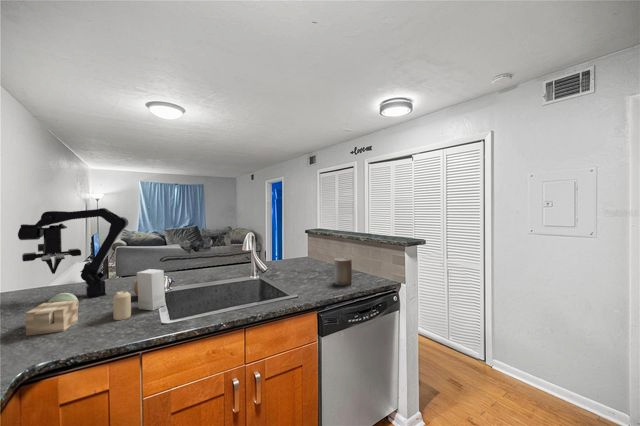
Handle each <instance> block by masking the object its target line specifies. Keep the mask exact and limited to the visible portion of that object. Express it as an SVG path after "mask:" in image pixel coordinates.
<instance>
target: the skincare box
mask: <svg viewBox="0 0 640 426" xmlns="http://www.w3.org/2000/svg"><path fill="white" fill-rule="evenodd" d="M164 275H165V273H164V269H155V268H154V269H153V268H148V269H145V270H141V271H137V272H136V281H137V287H138V295H137V300H138V301H137V302H138V309H140V310H145V311H155V310H158V309H160V308H159V307H161V306H163V307H164V305H165V306H166V294H165V292H166V291H165V276H164ZM161 308H162V307H161Z"/></svg>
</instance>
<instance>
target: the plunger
mask: <svg viewBox="0 0 640 426" xmlns="http://www.w3.org/2000/svg"><path fill="white" fill-rule="evenodd" d="M71 300H78V307H79V305H80V301H79V299H78V297H77V296H76V295H74V294H73V293H71V292H62V293H58V294H56V295H55V296H53V297H51V298H50V299H48V301H47V303H49V302H52V304H50V305H48V306H47V307H45V308H43V309H42V310H40V311H38V312H36V313H35V314H33V319H34V326H42V325H49V324H51V323H52V322H54V310H56V309H57V308H59V307H60V306H62V305H63V304H65V303H66V302H68V301H71Z"/></svg>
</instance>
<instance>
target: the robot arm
mask: <svg viewBox="0 0 640 426" xmlns="http://www.w3.org/2000/svg"><path fill="white" fill-rule="evenodd" d="M99 217H101V218H102V219H103V220H104V221H106V222H107V223H109V224H110V226H109V228H108V233H107V236H106V237H105V239H104V241H103V242H102V244H101V245H100V248H99V249H98V251H97V252H96V254H95V256H94V257H93V259H92V261H87V262H86V263H85V264H84V266H83V268H82V270H80V278H81V279H82V281H85V283H86V286H85V296H86V297H87V298H88V299H91V298H97V297H102V296H107V293H106V281H105V279H106V277H107V275H106V274H105V273H103V272H102V271H101V270H102V267H103V263H104V261H105V259H106V258H107V256H108V254H109V252H110V250H111V249H112V247H113V245H115V244H114V243H115V242H116V241H117V239H118V237H119V236H120V234H122V232H123V231H124V230H125V229H126V228H127V226H128V225H129V219H127V217H124V216H119V215H118V214H116V213H114V212H112V211H111V210H109V209H108V208H105V207H103V208H96V209H87V210H86V209H85V210H76V211H74V210H73V211H63V210H62V211H61V210H60V211H59V210H51V211H45V212H43V213H42V214H41V215H40V219H39V220H38V221H37V222H36V223H35V224H28V223H27V224H24V223H22V224H20V228H19V230H18V232H17V237H18V239H19V241H36V240H40V239H41V238H43V243H40V244H39V243H38V244H37V252H39V253H37V252H34V251H33V252H24V253H22V255H21V260H22V262H32V261H35V260H36V259H40V260H41V261H42V262H45V263H46V264H47V265H48V267H49V270H50V272H51V274H52V275H55V273H56V272H57V270H58V267H59V265H60V264H61V262H62V260H66V258H65V256H71V257H79V256H82V250H81V249H80V248H69V249H67V251H66V250H65V251H63V250H62V248H63V247H62V230H63V229H67V228H68V227H67V226H66V225H64V223H63V222H66V221H71V220H80V219H87V218H88V219H89V218H99ZM40 252H42V253H40ZM53 257H54V261H53V260H52V258H53Z"/></svg>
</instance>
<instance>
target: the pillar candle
mask: <svg viewBox="0 0 640 426" xmlns="http://www.w3.org/2000/svg"><path fill="white" fill-rule="evenodd" d="M352 262H353V261H352V258H350V257H344V256H342V257H335V258H334V263H333V264H334V265H333V266H334V267H333V268H334V270H333V271H334V273H333V275H334V281H333V282H334V284H335V285H336V286H342V287H343V286H351V285H352V283H353V282H352V275H353V274H352V271H353V269H352V268H353V267H352V265H353V264H352Z"/></svg>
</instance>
